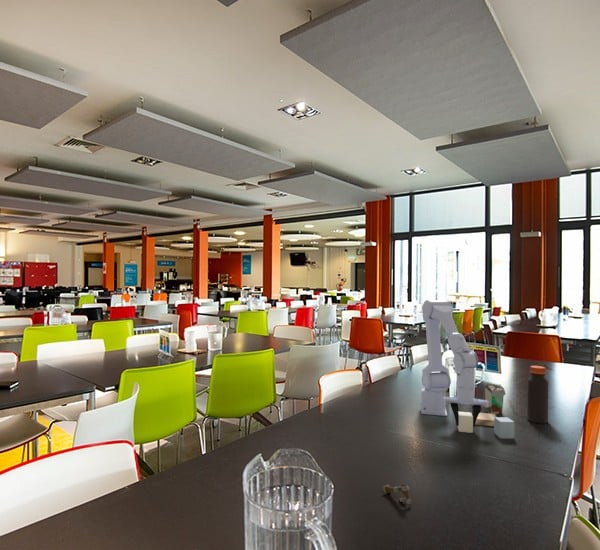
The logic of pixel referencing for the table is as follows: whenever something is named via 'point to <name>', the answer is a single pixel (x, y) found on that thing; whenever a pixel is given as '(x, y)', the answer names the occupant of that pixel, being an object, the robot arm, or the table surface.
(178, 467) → the table surface
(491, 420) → the oak slab
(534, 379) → the bottle
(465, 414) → the cream block
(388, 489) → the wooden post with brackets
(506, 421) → the slate block
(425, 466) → the table surface
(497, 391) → the food container
